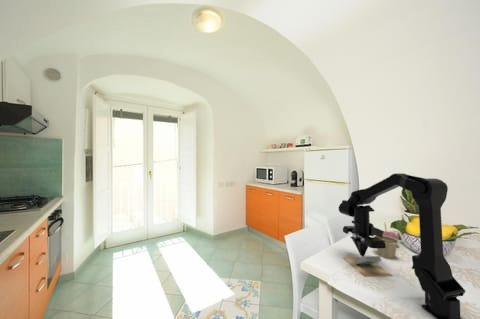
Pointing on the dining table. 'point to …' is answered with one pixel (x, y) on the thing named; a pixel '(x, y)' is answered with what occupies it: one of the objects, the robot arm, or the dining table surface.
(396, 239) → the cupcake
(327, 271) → the dining table surface
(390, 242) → the flower pot
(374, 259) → the tile
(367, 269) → the board
